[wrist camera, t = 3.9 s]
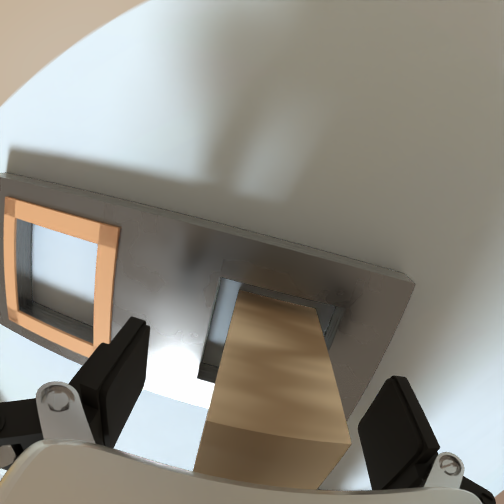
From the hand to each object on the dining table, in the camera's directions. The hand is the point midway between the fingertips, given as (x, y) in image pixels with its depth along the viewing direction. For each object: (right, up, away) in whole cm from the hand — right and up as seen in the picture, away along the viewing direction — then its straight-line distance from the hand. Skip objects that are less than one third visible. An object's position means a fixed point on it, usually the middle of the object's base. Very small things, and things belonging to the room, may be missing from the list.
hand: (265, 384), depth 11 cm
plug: (0, +1, +5) cm, 5 cm away
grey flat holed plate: (-5, +2, +5) cm, 8 cm away
